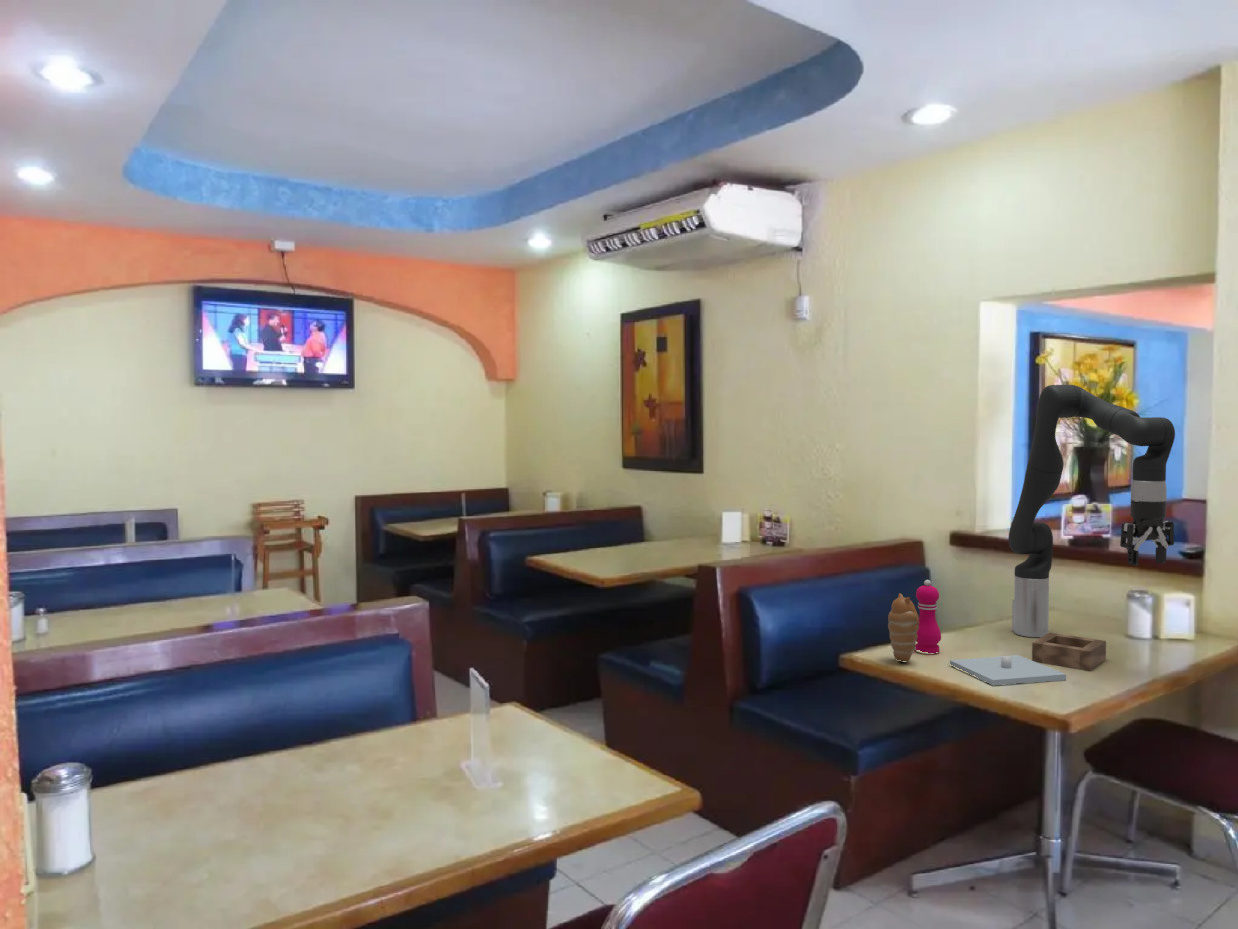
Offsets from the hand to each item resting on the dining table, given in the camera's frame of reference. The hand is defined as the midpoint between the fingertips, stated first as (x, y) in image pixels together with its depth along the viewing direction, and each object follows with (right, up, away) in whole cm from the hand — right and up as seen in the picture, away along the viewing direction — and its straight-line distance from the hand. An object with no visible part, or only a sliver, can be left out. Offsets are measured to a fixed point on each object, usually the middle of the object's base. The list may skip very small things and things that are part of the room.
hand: (1146, 564), depth 214 cm
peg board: (-33, -28, +5) cm, 43 cm away
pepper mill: (-45, -27, +26) cm, 59 cm away
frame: (-11, -27, +15) cm, 33 cm away
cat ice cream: (-55, -28, +16) cm, 64 cm away
